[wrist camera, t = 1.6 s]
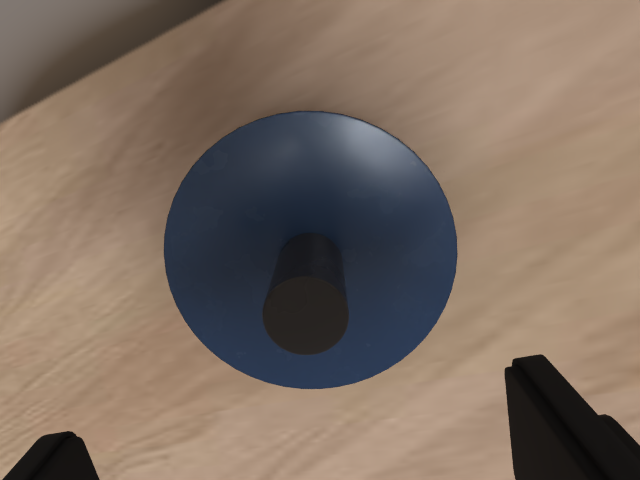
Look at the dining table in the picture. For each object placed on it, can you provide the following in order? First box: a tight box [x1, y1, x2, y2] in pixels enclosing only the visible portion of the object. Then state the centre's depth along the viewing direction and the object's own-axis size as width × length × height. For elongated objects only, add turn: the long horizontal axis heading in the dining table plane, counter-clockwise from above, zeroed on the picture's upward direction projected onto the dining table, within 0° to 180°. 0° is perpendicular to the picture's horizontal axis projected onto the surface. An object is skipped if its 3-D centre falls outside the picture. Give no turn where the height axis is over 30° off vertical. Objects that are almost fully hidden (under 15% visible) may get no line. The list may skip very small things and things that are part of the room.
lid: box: [164, 111, 457, 389], centre depth 18 cm, size 14×14×7 cm
